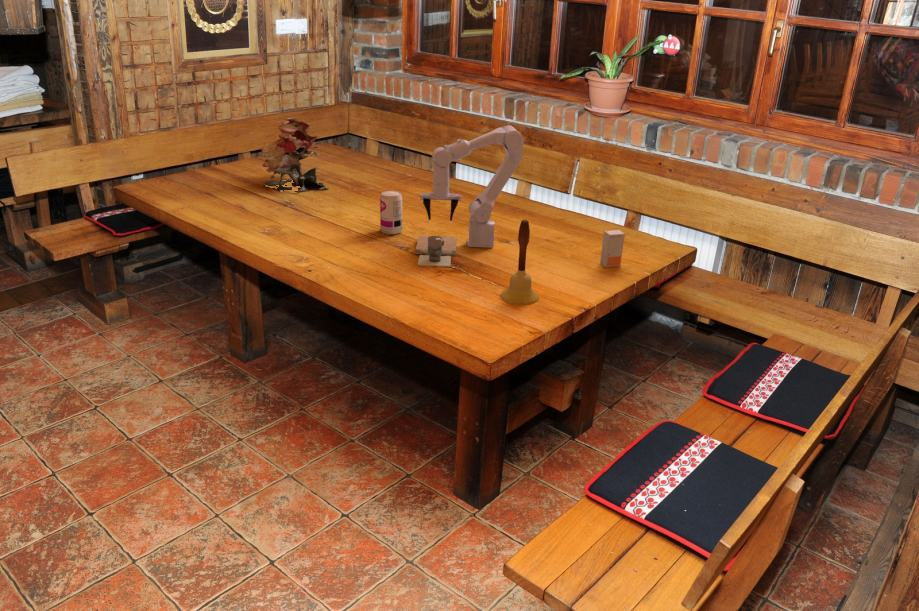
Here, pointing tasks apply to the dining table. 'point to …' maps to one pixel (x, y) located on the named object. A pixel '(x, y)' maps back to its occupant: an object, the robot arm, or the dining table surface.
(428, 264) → the pad
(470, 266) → the dining table surface
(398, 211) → the supplement can
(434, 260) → the grey metal cylinder
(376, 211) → the dining table surface
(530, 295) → the handbell
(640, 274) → the dining table surface
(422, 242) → the housing plate
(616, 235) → the skincare box
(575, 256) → the dining table surface
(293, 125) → the rose bouquet
